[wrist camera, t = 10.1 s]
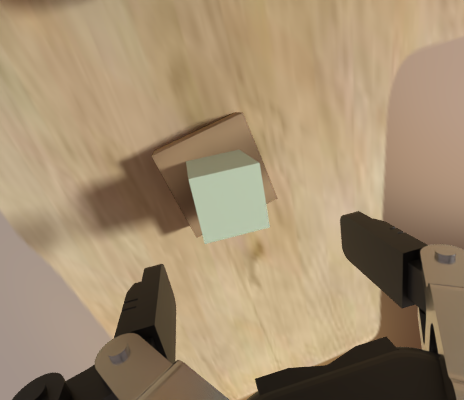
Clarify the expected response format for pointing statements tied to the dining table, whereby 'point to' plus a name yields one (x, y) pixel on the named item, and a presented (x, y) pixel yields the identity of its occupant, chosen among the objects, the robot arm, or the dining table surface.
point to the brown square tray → (203, 145)
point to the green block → (228, 195)
